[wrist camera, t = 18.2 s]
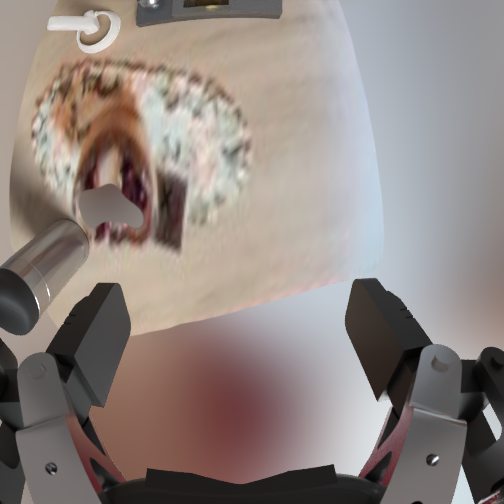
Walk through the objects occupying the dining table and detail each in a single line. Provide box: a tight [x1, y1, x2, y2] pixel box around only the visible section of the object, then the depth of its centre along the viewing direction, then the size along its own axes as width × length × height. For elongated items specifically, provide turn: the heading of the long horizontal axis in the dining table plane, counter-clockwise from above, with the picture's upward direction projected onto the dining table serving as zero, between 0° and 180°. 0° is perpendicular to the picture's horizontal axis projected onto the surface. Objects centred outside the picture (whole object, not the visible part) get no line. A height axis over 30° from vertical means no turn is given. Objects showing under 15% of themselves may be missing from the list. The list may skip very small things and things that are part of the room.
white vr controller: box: [47, 10, 121, 53], centre depth 25 cm, size 8×12×7 cm
